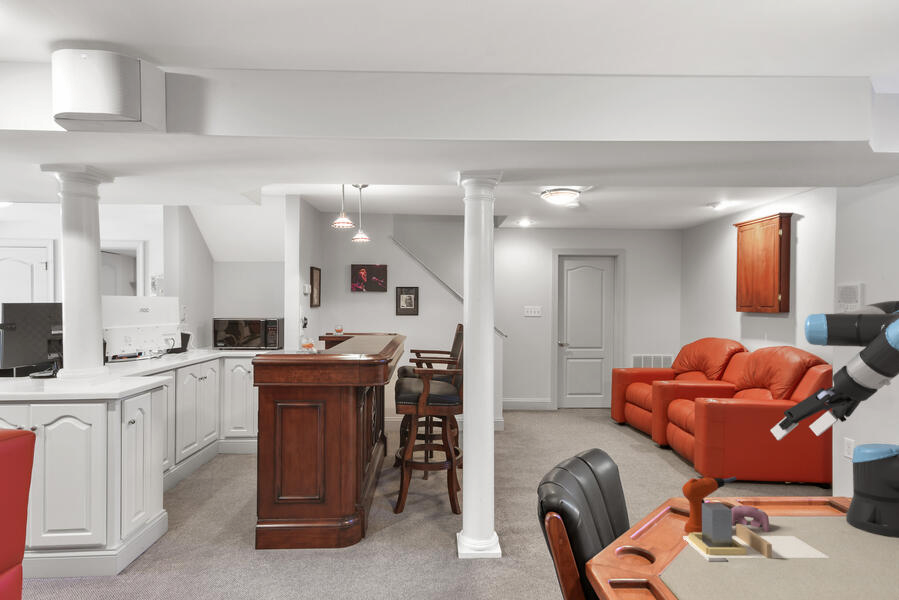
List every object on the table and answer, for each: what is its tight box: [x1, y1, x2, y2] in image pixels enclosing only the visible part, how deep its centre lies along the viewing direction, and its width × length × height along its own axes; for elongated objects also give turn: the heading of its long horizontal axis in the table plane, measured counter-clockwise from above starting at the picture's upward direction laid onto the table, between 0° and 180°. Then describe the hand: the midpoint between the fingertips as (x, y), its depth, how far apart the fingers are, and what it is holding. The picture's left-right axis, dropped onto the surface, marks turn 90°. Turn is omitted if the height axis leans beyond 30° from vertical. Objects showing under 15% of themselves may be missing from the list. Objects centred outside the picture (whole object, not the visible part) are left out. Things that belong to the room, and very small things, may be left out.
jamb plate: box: [682, 523, 830, 562], centre depth 135 cm, size 30×13×4 cm, turn 92°
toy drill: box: [681, 476, 737, 534], centre depth 148 cm, size 5×19×15 cm, turn 108°
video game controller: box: [730, 505, 770, 533], centre depth 149 cm, size 10×5×7 cm, turn 59°
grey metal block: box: [701, 502, 733, 547], centre depth 134 cm, size 5×5×10 cm
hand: (794, 433), depth 127 cm, fingers open, 13 cm apart
